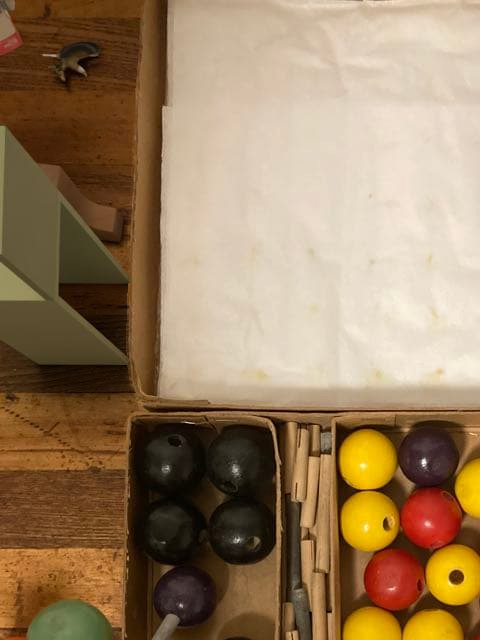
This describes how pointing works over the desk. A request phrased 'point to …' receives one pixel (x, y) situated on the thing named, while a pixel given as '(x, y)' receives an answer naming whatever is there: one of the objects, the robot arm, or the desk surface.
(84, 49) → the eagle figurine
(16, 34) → the ink box
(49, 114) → the desk surface
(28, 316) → the shelf
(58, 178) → the wooden block
